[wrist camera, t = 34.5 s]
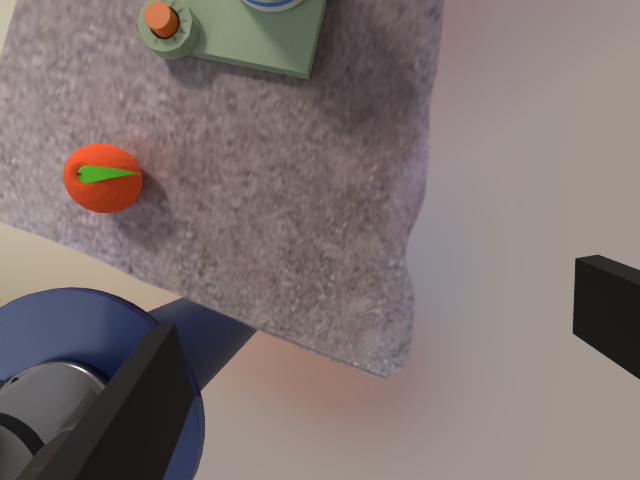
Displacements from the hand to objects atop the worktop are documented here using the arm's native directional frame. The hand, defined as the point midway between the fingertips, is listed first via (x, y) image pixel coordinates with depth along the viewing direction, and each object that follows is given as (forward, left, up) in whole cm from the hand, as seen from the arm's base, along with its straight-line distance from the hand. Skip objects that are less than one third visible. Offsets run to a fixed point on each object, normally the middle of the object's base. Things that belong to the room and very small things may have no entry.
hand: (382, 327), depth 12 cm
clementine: (-27, +2, -27) cm, 38 cm away
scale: (-18, +24, -27) cm, 40 cm away
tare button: (-24, +18, -24) cm, 39 cm away
